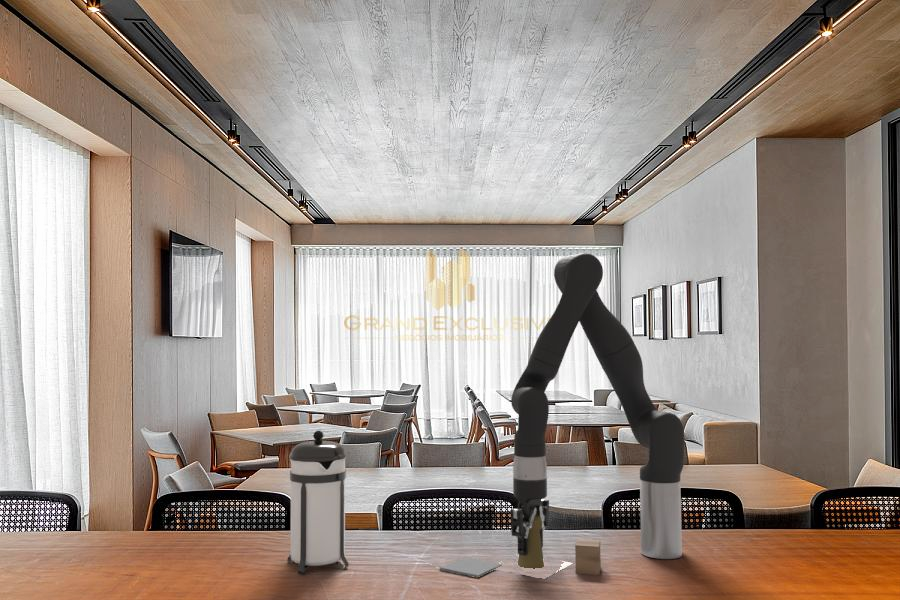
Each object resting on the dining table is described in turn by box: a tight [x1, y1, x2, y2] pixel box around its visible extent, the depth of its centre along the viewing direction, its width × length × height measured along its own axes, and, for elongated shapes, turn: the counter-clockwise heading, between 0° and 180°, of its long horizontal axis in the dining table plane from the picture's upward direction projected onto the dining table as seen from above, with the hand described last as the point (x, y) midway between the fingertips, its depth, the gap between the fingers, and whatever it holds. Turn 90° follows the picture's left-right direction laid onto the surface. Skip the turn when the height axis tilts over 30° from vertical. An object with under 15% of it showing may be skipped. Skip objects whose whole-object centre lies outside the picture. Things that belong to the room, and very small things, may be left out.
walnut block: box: [574, 538, 602, 575], centre depth 167 cm, size 5×5×6 cm
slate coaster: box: [439, 556, 502, 578], centre depth 168 cm, size 10×10×1 cm
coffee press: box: [287, 430, 350, 576], centre depth 173 cm, size 17×16×30 cm
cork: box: [517, 516, 544, 569], centre depth 170 cm, size 6×6×11 cm
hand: (530, 551), depth 170 cm, fingers open, 6 cm apart
